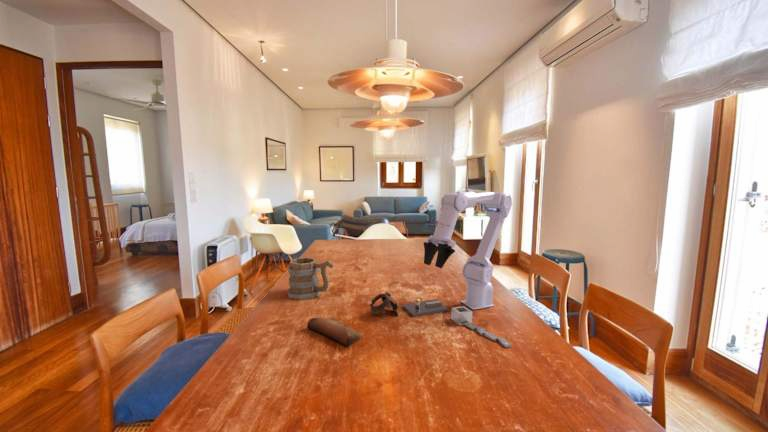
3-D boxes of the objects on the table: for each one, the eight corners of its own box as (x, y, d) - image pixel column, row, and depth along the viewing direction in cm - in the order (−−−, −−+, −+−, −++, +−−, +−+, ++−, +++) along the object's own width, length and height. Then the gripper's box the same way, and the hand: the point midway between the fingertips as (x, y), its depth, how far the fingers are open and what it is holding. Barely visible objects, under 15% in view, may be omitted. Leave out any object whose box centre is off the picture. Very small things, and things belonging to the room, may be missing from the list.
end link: (463, 316, 114) (463, 305, 114) (471, 323, 109) (472, 311, 109) (450, 319, 112) (451, 307, 112) (459, 325, 108) (459, 313, 107)
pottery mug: (401, 321, 112) (390, 303, 109) (376, 330, 114) (365, 312, 111) (401, 299, 123) (391, 282, 120) (379, 308, 125) (369, 291, 122)
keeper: (435, 301, 127) (435, 292, 127) (447, 311, 119) (448, 300, 118) (402, 306, 122) (402, 296, 122) (412, 316, 114) (413, 305, 113)
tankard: (281, 296, 132) (280, 260, 130) (300, 286, 143) (299, 253, 141) (324, 304, 124) (323, 265, 122) (340, 293, 136) (340, 257, 134)
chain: (469, 323, 109) (469, 321, 109) (513, 345, 95) (514, 342, 95) (462, 326, 107) (462, 323, 107) (506, 348, 94) (506, 346, 93)
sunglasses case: (366, 336, 100) (359, 322, 97) (353, 355, 96) (344, 342, 92) (326, 319, 111) (318, 306, 108) (313, 336, 107) (304, 323, 103)
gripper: (424, 222, 114) (412, 259, 112) (447, 222, 101) (433, 264, 99) (441, 229, 117) (429, 265, 115) (465, 230, 103) (452, 272, 101)
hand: (432, 265), depth 107 cm, fingers open, 7 cm apart
